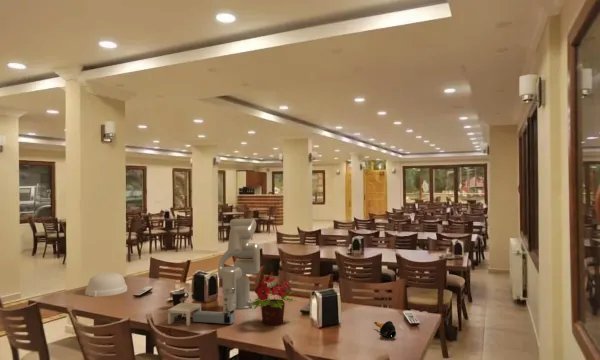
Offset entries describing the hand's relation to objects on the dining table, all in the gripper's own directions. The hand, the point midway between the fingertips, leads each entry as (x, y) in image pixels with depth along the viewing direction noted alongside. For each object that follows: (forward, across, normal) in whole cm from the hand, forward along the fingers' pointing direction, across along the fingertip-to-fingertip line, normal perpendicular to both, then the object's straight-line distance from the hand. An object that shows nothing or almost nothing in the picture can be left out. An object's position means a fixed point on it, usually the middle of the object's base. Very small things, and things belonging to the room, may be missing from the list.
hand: (229, 320), depth 257 cm
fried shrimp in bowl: (+2, 0, -90) cm, 90 cm away
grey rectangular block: (+1, 0, +10) cm, 10 cm away
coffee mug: (+2, +26, +45) cm, 52 cm away
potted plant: (+2, +5, -25) cm, 25 cm away
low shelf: (+2, 0, +28) cm, 28 cm away
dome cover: (+2, +55, +124) cm, 135 cm away
